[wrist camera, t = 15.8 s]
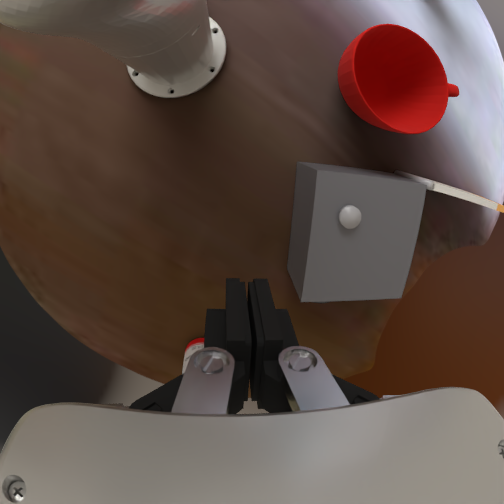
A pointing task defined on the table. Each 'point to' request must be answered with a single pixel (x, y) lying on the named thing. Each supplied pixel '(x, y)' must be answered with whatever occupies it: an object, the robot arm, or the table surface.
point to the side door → (452, 191)
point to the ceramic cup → (394, 80)
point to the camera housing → (352, 232)
